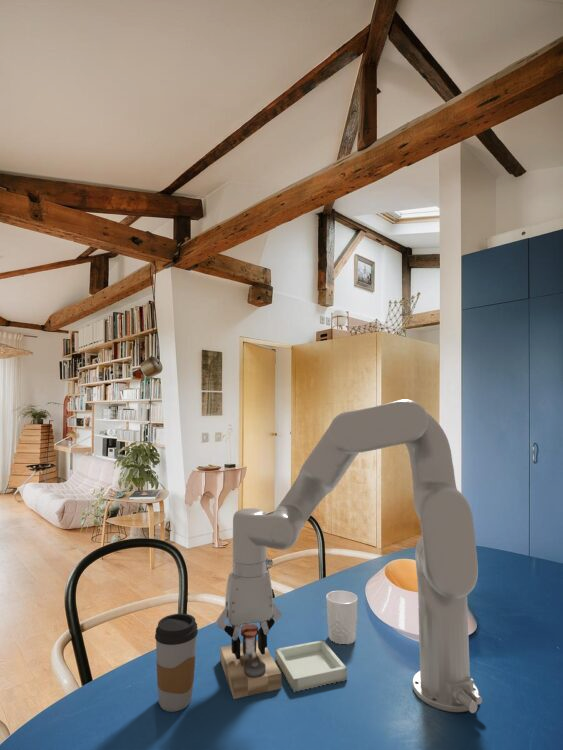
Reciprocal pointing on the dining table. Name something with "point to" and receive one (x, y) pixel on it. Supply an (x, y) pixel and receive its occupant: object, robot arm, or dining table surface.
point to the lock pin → (248, 642)
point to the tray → (310, 665)
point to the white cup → (342, 616)
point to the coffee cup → (175, 660)
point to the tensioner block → (250, 672)
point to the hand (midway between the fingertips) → (249, 652)
